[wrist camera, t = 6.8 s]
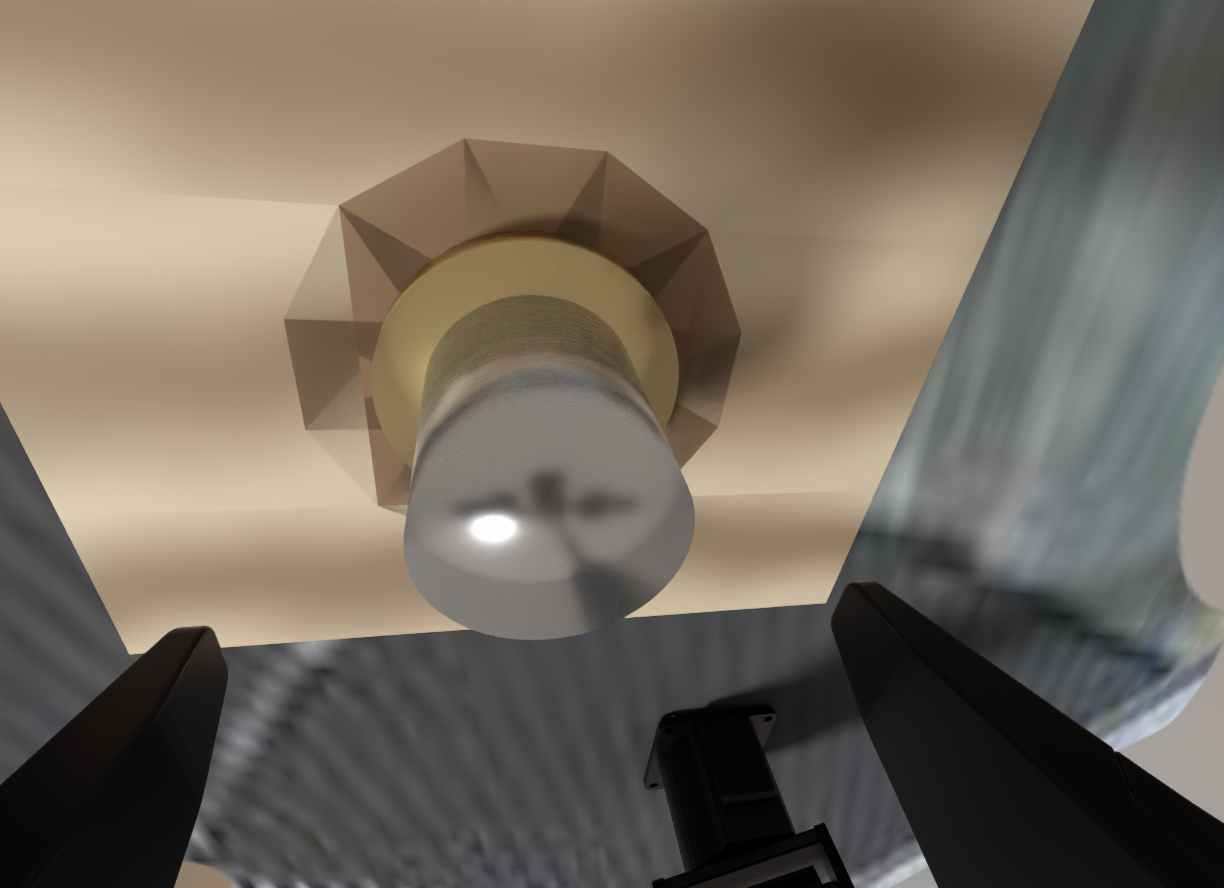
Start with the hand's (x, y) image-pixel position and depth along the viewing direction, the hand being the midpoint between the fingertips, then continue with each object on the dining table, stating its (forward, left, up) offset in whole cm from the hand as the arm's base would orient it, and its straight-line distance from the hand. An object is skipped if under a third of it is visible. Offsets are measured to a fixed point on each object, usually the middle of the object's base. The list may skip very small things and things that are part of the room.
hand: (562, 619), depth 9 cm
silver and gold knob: (0, 0, -11) cm, 11 cm away
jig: (0, 0, -11) cm, 11 cm away
